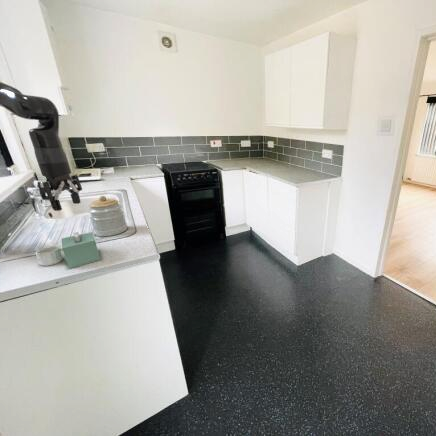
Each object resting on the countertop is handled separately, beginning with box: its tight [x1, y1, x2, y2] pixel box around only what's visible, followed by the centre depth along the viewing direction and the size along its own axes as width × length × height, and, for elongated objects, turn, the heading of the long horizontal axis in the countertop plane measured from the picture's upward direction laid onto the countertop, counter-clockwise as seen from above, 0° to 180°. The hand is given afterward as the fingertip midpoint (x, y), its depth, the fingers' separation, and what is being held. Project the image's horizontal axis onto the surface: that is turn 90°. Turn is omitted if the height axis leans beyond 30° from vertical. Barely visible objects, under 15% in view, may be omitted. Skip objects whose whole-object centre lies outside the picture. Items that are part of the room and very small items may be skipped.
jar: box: [87, 195, 128, 237], centre depth 114 cm, size 13×13×18 cm
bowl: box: [35, 245, 64, 267], centre depth 89 cm, size 6×6×5 cm
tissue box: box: [61, 231, 102, 269], centre depth 91 cm, size 9×11×10 cm
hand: (68, 206), depth 88 cm, fingers open, 8 cm apart
